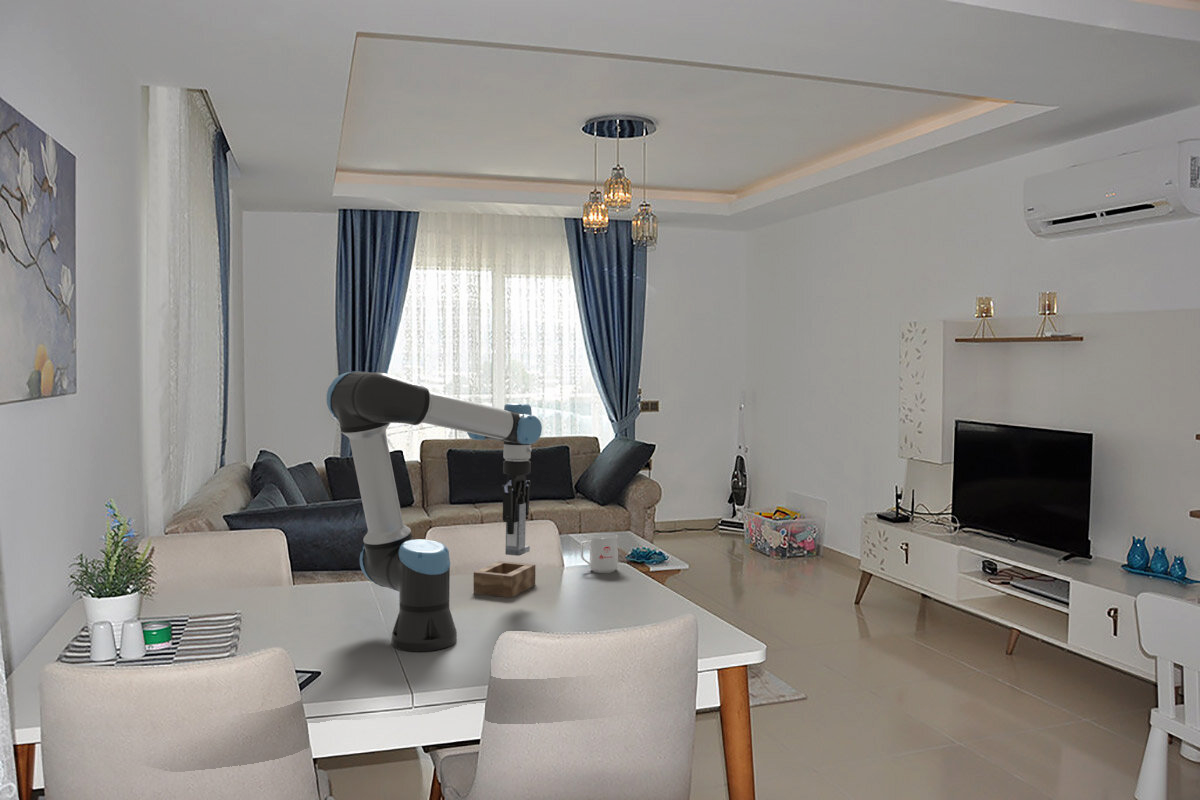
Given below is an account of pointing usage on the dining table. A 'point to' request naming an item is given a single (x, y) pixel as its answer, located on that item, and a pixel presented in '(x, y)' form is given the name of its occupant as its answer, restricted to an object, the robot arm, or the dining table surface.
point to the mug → (602, 552)
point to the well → (504, 579)
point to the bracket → (519, 532)
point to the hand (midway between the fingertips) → (515, 544)
